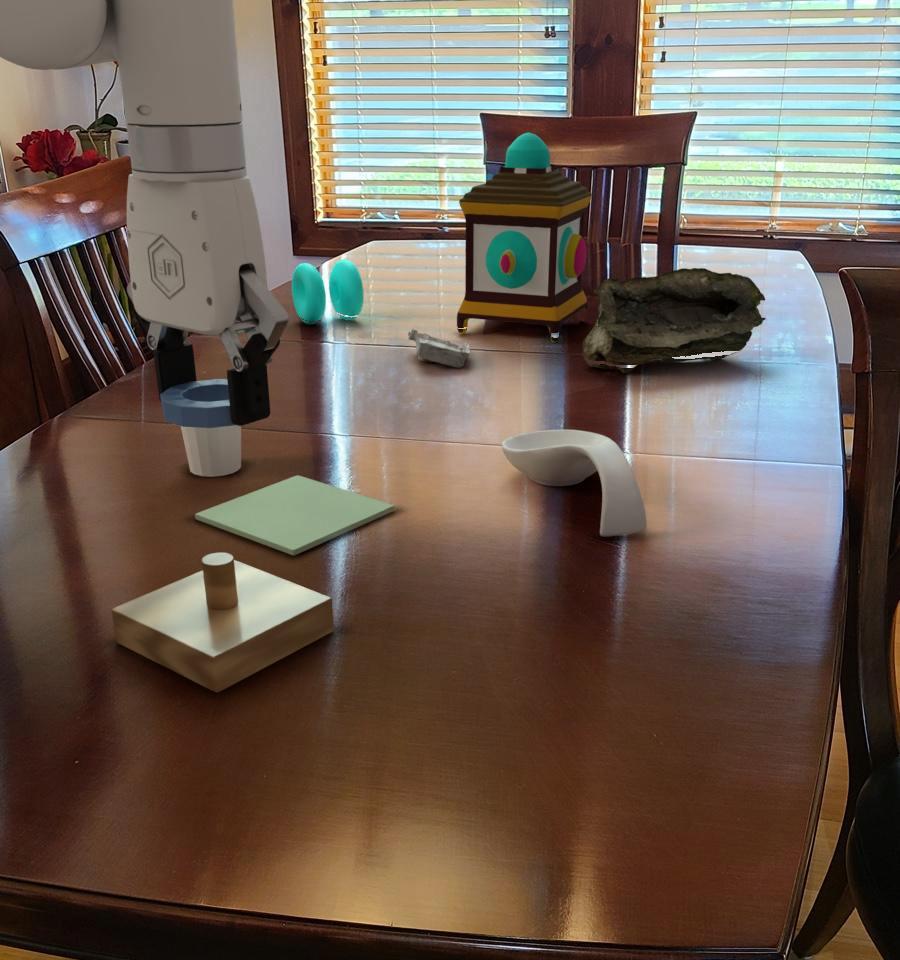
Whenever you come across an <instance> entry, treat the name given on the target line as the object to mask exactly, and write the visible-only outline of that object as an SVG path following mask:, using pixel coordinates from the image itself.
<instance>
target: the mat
mask: <svg viewBox="0 0 900 960" xmlns="http://www.w3.org/2000/svg"><path fill="white" fill-rule="evenodd" d="M395 511H396V505H394V504H392V503H390V502H389V503H388V502H385V501H382V500H379V499H376V498H373V497H370V496H367V495H363V494H359V493H356V492H354V491H350V490H347V489H344V488H340V487H337V486H334V485H330V484H327V483H325V482H321V481H318V480H315V479H311V478H308V477H306V476H305V477H304V476H302V475H299V474H297V475H294V476H292V477H289V478H286V479H284V480H281V481H278V482H276V483H273V484H269V485H268V486H265V487H263V488H260V489H257V490H255V491H254V490H253V491H252V492H249V493H246V494H244V495H242V496H241V495H240V496H238V497H235V498H233V499H231V500H228V501H226V502H225V501H224V502H223V503H220V504H218V505H215V506H212V507H209V508H207V509H204V510H202V511H201V510H200V511H198V512H197V513H195V514H194V518H195V520H196V521H199V522H202V523H205V524H207V525H210V526H212V527H215V528H218V529H221V530H224V531H226V532H229V533H232V534H234V535H237V536H240V537H243V538H245V539H247V540H250V541H253V542H255V543H258V544H261V545H264V546H266V547H269V548H271V549H274V550H278V551H280V552H283V553H285V554H288V555H290V556H292V557H293V556H297V555H300V554H301V553H303V552H306V551H308V550H310V549H312V548H314V547H317V546H319V545H321V544H324V543H326V542H328V541H330V540H333V539H334V538H335V539H336V538H337V537H339V536H341V535H343V534H346V533H348V532H350V531H352V530H355V529H357V528H359V527H361V526H364V525H366V524H368V523H370V522H372V521H375V520H377V519H379V518H381V517H384V516H386V515H388V514H391V513H393V512H395Z"/></svg>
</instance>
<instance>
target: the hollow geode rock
mask: <svg viewBox="0 0 900 960" xmlns="http://www.w3.org/2000/svg"><path fill="white" fill-rule="evenodd" d="M593 295H597V296H598V299H599V302H600V303H599V304H598V306H597V310H598V313H599V314H598V318H597V320H596V322H595V324H594V326H593V328H592V329H591V330H590V332H589V333H588V334H587V335H586V337H585V338H584V339H583V341H582V355H583V359H584V358H585V359H588V360H592V361H605V362H608V363H610V364H613V365H638V364H640V365H641V363H642V364H648V363H649V362H651V361H656V360H661V361H663V362H664V363H679V362H680V363H684V362H687V361H698V360H704V361H705V360H711V361H713V360H716V359H718V360H723V359H722V358H724V359H725V358H726V357H729V356H731V355H733V354H731V355H722V356H715V357H702V358H695V359H674V358H672V357H680V356H685V357H686V356H691V355H697V354H698V355H699V354H702V353H712V352H721V351H722V352H724V351H739V352H740V351H742V350H743V349H744V348H745V347H746V346H747V343H748V342H749V341H750V339H751V337H752V335H753V332H752V331H753V330H754V328H758V327H759V326H761V325H762V324H763V322H764V321H766V317H762V314H761V313H760V310H759V308H758V306H759V305H760V304H761V302H762V301H766V297H765V295H764V294H763V293H762V292H761V290H760V289H759V287H758V286H757V285H756V283H755V282H754V281H753V280H752V279H751V278H750V277H748V276H744V275H742V274H737V273H735V274H733V273H731V272H722V273H719V272H716V271H712V270H710V269H707V268H705V267H704V268H703V267H700V268H699V267H698V268H697V267H691V268H687V267H686V268H683V267H682V268H679V269H674V270H671V271H667V272H664V273H662V274H660V275H656V276H648V277H647V276H641V277H639V276H638V277H637V276H636V277H632V278H629V279H626V280H621V279H619V278H615V277H609V278H606V279H604V280H602V282H600V283H599V285H598V286H597V287H596V288H595V289H594V290H593ZM585 359H584V360H585ZM586 363H587V365H588V366H590V367H592V368H598V369H602V370H607V371H608V370H609V371H610V370H613V371H618V372H621V373H623V374H625V373H628V372H630V371H633V370H634V369H635V368H636V367H638V366H639V365H638V366H636V367H635V368H620V367H616V366H609V365H606V364H600V365H598V364H592V363H588V362H586Z"/></svg>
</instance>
